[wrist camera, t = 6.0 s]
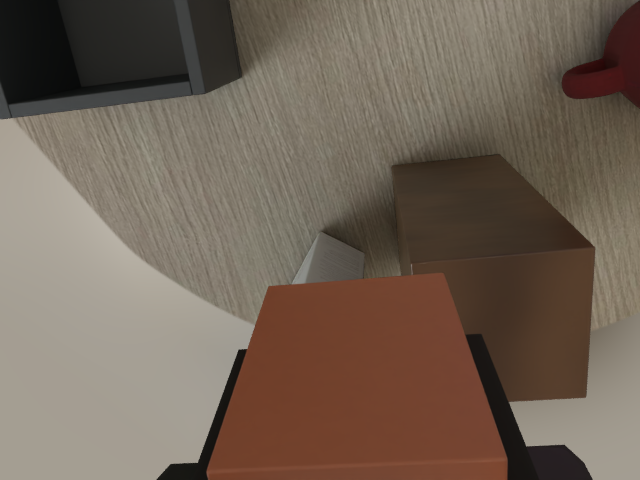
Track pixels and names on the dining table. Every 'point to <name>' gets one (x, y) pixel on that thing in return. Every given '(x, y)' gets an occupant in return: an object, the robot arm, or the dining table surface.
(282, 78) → the dining table surface
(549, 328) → the stand
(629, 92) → the mug
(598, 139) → the dining table surface
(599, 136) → the dining table surface
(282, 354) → the block
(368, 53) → the dining table surface
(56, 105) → the bin
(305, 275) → the cosmetic box
